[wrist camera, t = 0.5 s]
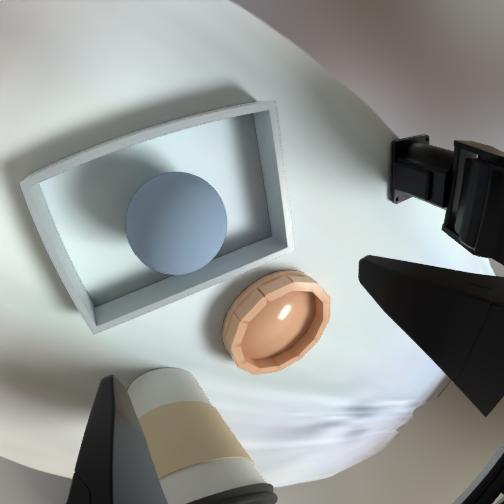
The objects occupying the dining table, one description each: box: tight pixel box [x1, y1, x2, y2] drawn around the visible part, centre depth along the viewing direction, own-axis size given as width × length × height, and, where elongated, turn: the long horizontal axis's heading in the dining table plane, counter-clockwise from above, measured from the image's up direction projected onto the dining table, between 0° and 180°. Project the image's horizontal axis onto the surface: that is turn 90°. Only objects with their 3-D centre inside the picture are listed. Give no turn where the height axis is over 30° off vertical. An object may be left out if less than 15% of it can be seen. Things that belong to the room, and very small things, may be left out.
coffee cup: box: [127, 368, 277, 504], centre depth 19 cm, size 9×9×15 cm
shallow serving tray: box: [19, 101, 294, 335], centre depth 18 cm, size 15×10×2 cm
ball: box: [126, 172, 227, 275], centre depth 16 cm, size 6×6×6 cm
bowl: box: [222, 270, 330, 375], centre depth 26 cm, size 10×10×2 cm
